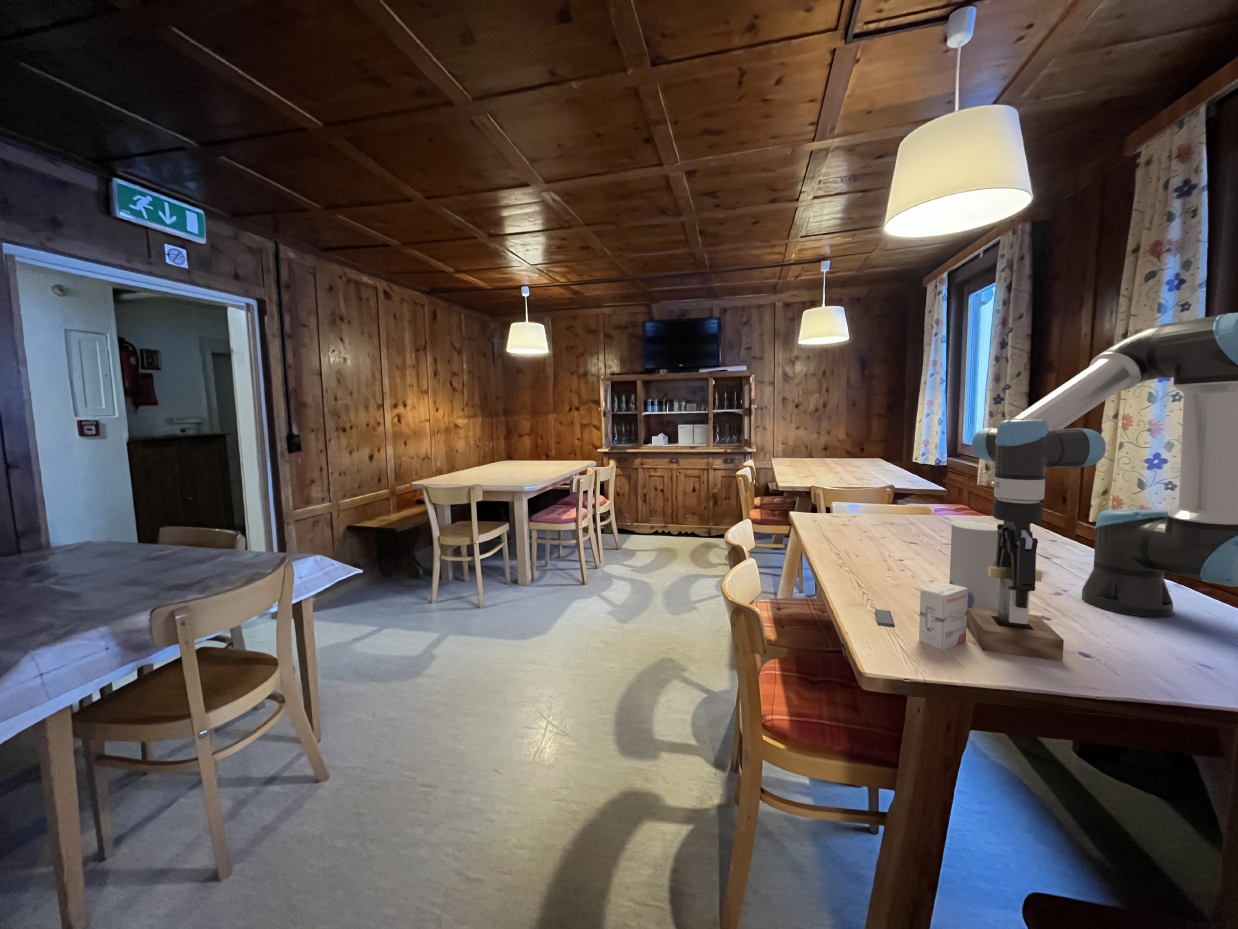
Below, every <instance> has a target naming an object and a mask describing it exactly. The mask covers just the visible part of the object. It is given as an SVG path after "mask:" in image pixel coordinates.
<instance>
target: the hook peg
mask: <svg viewBox="0 0 1238 929" xmlns="http://www.w3.org/2000/svg"><path fill="white" fill-rule="evenodd" d="M988 575H989V576H990V577H992V578H1000V580H999V601H998V610H997V611H998V622H997V624H998V626H1002V627H1010V628H1019V629H1026V624H1021V623H1012V622H1009V606H1010V590H1009V589H1008V586H1012V587H1013V580H1012V568H1008V567H995V566H988ZM1042 577H1043V572H1042V571H1040V570H1039V569H1036V575H1035V582H1042V579H1043V578H1042Z"/></svg>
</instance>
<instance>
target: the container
mask: <svg viewBox="0 0 1238 929" xmlns="http://www.w3.org/2000/svg"><path fill="white" fill-rule="evenodd" d="M997 526H998V524H993V523H988V522H982V521H981V522H980V521H965V520H964V521H954V522H952V523H951V534H950V558H949V559H950V560H949V561H950V562H949V584H952V585H957V586H961V587H965V588H967V589H968V606H967V608H973V609H982V610H992V611H998V588H999V578H992V577H990V576H989V575H988V566H995V567H996V553H997V539H998V529H997Z"/></svg>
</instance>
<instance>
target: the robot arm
mask: <svg viewBox="0 0 1238 929" xmlns="http://www.w3.org/2000/svg"><path fill="white" fill-rule="evenodd" d="M1167 378H1168V379H1171V378H1173V387H1174V388H1175V389H1177V390H1178V391H1180V392H1182V394H1183V404H1182V407H1183V408H1182V409H1183V410H1182V423H1181V424H1182V426H1181V427H1182V429H1181V445H1180V447H1181V448H1180V450H1181V451H1180V465H1179V466H1180V468H1179V469H1180V472H1179V489H1178V490H1179V491H1178V492H1179V493H1178V506H1177V507H1176V508H1175V509H1173V510H1171V511H1167V510H1163V509H1147V508H1146V509H1145V508H1144V509H1140V508H1139V509H1137V508H1134V509H1133V508H1132V509H1131V508H1127V509H1125V508H1121V509H1119V508H1118V509H1105V510H1102V511H1100V512H1099V513H1098V514H1097V518H1096V524H1095V526H1094V530H1095V532H1094V534H1095V535H1094V550H1093V551H1094V552H1093V554H1094V555H1093V568H1092V571H1091V572H1090V574H1089V575H1088V578H1087V579H1086V581H1085V583H1084V585H1083V587H1082V589H1081V599H1082V600H1083V601H1084V602H1085V603H1088V604H1090V605H1092V606H1095V607H1097V608H1101V609H1104V610H1108V611H1110V612H1116V613H1122V614H1126V615H1132V616H1136V617H1137V616H1139V617H1147V618H1148V617H1149V618H1165V617H1171V616H1172V615H1173V614H1174V603H1173V599H1172V597H1171V594H1170V591H1169V589H1168V587H1167V584H1166V581H1165V573H1170V574H1175V575H1179V576H1184V577H1187V578H1191V579H1194V580H1199V581H1202V582H1205V583H1208V584H1216V585H1221V586H1222V585H1223V586H1226V587H1235V588H1236V587H1238V312H1228V313H1223V314H1218V315H1213V316H1206V317H1201V318H1200V317H1199V318H1194V319H1188V320H1183V321H1177V322H1170V323H1169V322H1168V323H1162V324H1159V325H1154V326H1151V327H1147V328H1145V329H1143V330H1141V331H1139V332H1137V333H1134V334H1133V335H1131V336H1128V337H1126V338H1125V339H1123V340H1121V341H1119V342H1117V343H1116V344H1114V345H1112V346H1110V347H1109V348H1107V349H1106V350H1104V351H1102V352H1101V353H1099V354H1098V355H1096V356H1095V357H1093V358H1092V360H1090V363H1089V366H1088V367H1087V368H1086V369H1083V370H1082V371H1081V372H1080V373H1078V374H1077V375H1075V376H1073V377H1072V378H1071V379H1070V380H1068V381H1066V382H1065V383H1063V384H1062V385H1060V386H1059V387H1057V388H1056V389H1055V390H1053V391H1051V392H1050V393H1048V394H1047V395H1045V396H1044V397H1042V398H1041V399H1039V400H1038V401H1037V402H1035V403H1033V404H1032V405H1031V406H1029V407H1028V408H1026V409H1025V410H1023V411H1022V412H1021V413H1019V414H1017V415H1016V416H1015V417H1013V418H1012V419H1006V420H1002V421H1000V422H999V423H998V424H997V427H994V426H993V427H986V428H985V427H984V428H982V429H979V430H978V431H977V432H976V434H974V436H973V437H972V441H971V450H972V452H973V454H974V455H975V456H976V457H977V458H978V459H979V460H983V461H989V462H993V463H995V464H994V466H995V467H994V481H992V482H991V483H990V484H991V485H990V486H991V487H992V488H994V489H993V496H994V497H996V498H995V499H994V500H993V502H992V517H993V518H994V519H996V520H999V521H1002V522H1003V523H997V525H998V526H997V529H998V539H997V553H996V567H1008V568H1012V580H1013V587H1012V586H1008V589H1009V590H1010V606H1009V622H1012V623H1021V624H1028V614H1029V610H1030V608H1029V606H1030V592H1036V581H1035V575H1036V570H1037V569H1036V566H1037V549H1038V548H1037V547H1038V543H1039V540H1038V538H1037V537H1033V532H1032V531H1031V524H1038V523H1041V522H1043V519H1044V518H1043V516H1044V504H1043V502H1041V501H1042V500H1044V499H1045V490H1046V488H1045V487H1046V469H1051V468H1052V469H1053V468H1054V469H1055V468H1063V469H1064V468H1074V469H1079V468H1083V467H1090V466H1094V465H1096V464H1097V463H1099V462H1100V461H1101V460H1102V459H1103V458H1104V456H1105V454H1106V450H1107V443H1106V440H1105V437H1103V436H1102V434H1100V433H1099V432H1097V431H1095V430H1094V429H1090V428H1082V427H1081V428H1080V427H1077V428H1076V427H1072V428H1065V427H1067V426H1069V425H1070V424H1072V423H1073V422H1075V421H1076V420H1078V419H1079V418H1081V417H1082V416H1084V415H1085V414H1087V413H1088V412H1089V411H1091V410H1093V409H1094V408H1096V407H1097V406H1098V405H1100V404H1101V403H1103V402H1105V401H1106V400H1107V399H1109V398H1110V397H1112V396H1113V395H1115V394H1116V393H1117V392H1119V391H1127V390H1130V389H1132V388H1134V387H1136V386H1137V385H1138V384H1140V383H1143V382H1147V381H1152V380H1157V379H1167ZM999 580H1000V578H999ZM998 601H999V588H998Z"/></svg>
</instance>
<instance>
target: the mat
mask: <svg viewBox="0 0 1238 929" xmlns="http://www.w3.org/2000/svg"><path fill="white" fill-rule="evenodd" d="M874 613H875V616H876V621H877V625H879V626H885V627H894V628H895V627H896V625H895V622H894V618H893V616H892V613H891V611H890V610H886V609H885V610H884V609H878V608H877V609H876V608H875V609H874Z"/></svg>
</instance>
